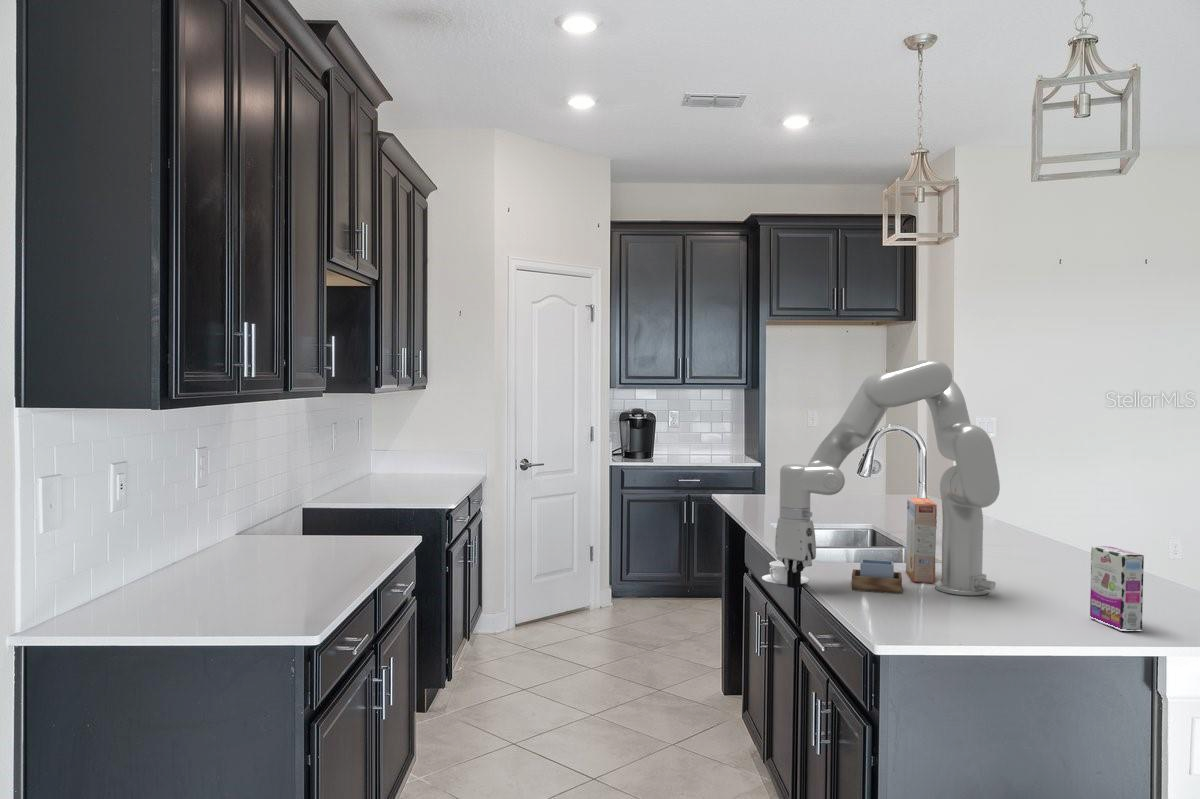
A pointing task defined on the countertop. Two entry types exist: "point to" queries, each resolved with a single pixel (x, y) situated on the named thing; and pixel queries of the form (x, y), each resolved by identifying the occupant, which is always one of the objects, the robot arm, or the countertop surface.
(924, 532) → the cracker box
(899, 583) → the walnut crate
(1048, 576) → the countertop surface
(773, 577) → the teacup
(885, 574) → the slate crate
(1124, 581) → the candy bar box
